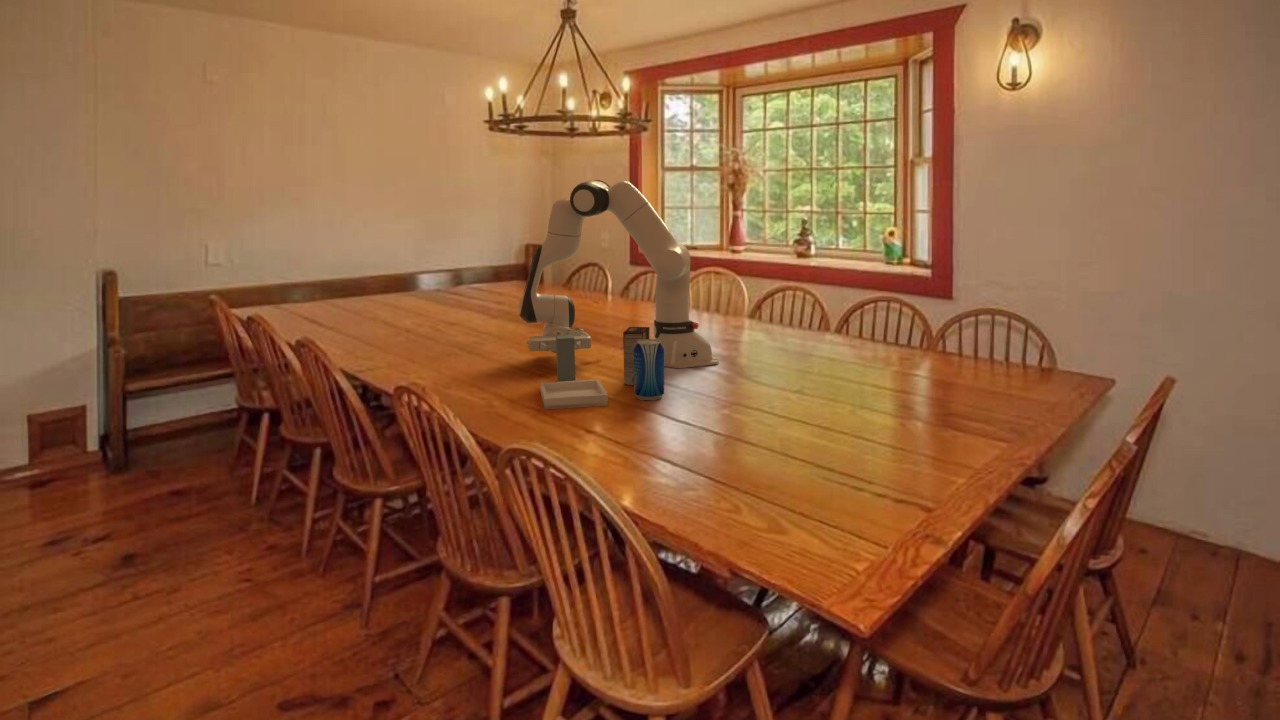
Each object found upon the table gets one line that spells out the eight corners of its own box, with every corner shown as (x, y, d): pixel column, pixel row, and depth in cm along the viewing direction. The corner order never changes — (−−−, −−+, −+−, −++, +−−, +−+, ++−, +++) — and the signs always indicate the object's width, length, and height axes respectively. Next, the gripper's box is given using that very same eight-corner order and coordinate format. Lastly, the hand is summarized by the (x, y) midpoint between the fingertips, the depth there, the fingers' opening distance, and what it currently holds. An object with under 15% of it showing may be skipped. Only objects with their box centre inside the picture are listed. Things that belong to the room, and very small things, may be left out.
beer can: (633, 393, 224) (632, 338, 220) (662, 392, 224) (662, 338, 221) (635, 402, 215) (634, 345, 212) (665, 401, 216) (665, 344, 213)
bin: (599, 389, 229) (598, 379, 228) (608, 405, 212) (607, 394, 212) (540, 392, 226) (540, 382, 225) (544, 409, 209) (544, 398, 209)
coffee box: (630, 377, 242) (629, 326, 238) (650, 378, 241) (650, 326, 237) (623, 384, 233) (622, 331, 230) (644, 385, 232) (644, 332, 228)
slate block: (573, 379, 240) (572, 334, 237) (575, 383, 235) (574, 337, 232) (557, 380, 239) (555, 335, 236) (558, 384, 234) (557, 338, 231)
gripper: (525, 331, 257) (528, 339, 244) (587, 328, 261) (593, 336, 248) (526, 350, 259) (528, 359, 246) (588, 346, 263) (593, 355, 249)
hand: (561, 347), depth 247 cm, fingers open, 8 cm apart
